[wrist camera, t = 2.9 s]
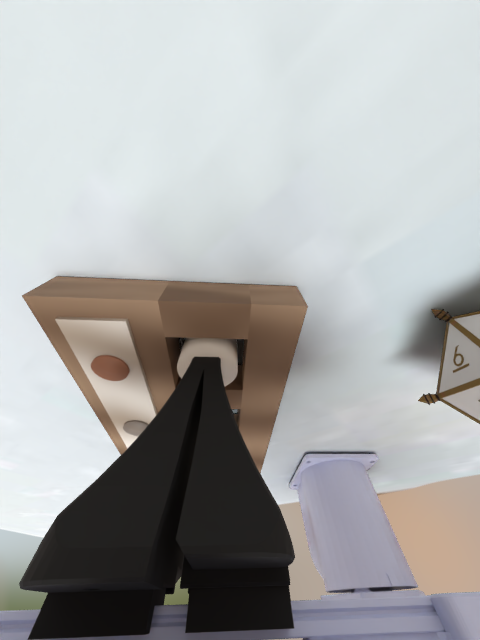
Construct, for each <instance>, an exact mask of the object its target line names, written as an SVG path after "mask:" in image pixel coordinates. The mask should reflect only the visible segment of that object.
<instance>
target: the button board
mask: <svg viewBox="0 0 480 640" xmlns="http://www.w3.org/2000/svg"><path fill="white" fill-rule="evenodd" d="M22 297H23V298H24V300H25V301H26V303H27V305H28V306H29V308H30V309H31V311H32V313H33V314H34V316H35V317H36V319H37V321H38V322H39V324H40V325H41V327H42V329H43V330H44V332H45V333H46V335H47V337H48V338H49V340H50V341H51V343H52V345H53V346H54V348H55V350H56V351H57V353H58V354H59V356H60V358H61V359H62V361H63V362H64V364H65V366H66V367H67V369H68V370H69V372H70V374H71V375H72V377H73V378H74V380H75V382H76V383H77V385H78V386H79V388H80V390H81V391H82V393H83V394H84V396H85V398H86V399H87V401H88V402H89V404H90V406H91V407H92V409H93V411H94V412H95V414H96V415H97V417H98V419H99V420H100V422H101V423H102V425H103V427H104V428H105V430H106V431H107V433H108V435H109V436H110V438H111V439H112V441H113V443H114V444H115V446H116V447H117V449H118V451H119V452H120V454H121V455H122V454H123V453H124V452H125V451H126V450H127V449H128V447H129V446H130V445H131V444H132V443H133V442H134V441H135V440H136V439H137V437H138V436H139V435H140V434H141V433H142V432H143V431H144V430H145V428H146V427H147V426H148V425H149V424H150V422H151V421H152V420H153V419H154V417H155V416H156V415H157V414H158V412H159V411H160V410H161V408H162V407H163V406H164V404H165V403H166V401H167V400H168V399H169V397H170V396H171V394H172V393H173V391H174V390H175V388H176V387H177V385H178V384H179V382H180V381H181V377H180V376H179V374H178V371H177V363H178V360H179V357H180V354H181V351H180V344H179V338H178V337H182V338H217V339H244V345H243V357H242V365H238V373H237V376H236V378H235V379H234V380H233V381H232V382H231V383H230V384H229V385H227V386H225V390H226V394H227V397H228V401H229V404H230V407H231V409H238V414H233V415H234V418H235V421H236V423H237V426H238V428H239V431H240V433H241V435H242V437H243V440H244V442H245V444H246V446H247V448H248V450H249V452H250V455H251V457H252V459H253V461H254V463H255V465H256V467H257V469H258V471H259V472H260V473H261V469H262V465H263V462H264V458H265V455H266V451H267V448H268V444H269V441H270V437H271V434H272V430H273V427H274V423H275V420H276V416H277V413H278V409H279V406H280V402H281V399H282V395H283V392H284V388H285V385H286V381H287V378H288V374H289V371H290V367H291V363H292V360H293V356H294V353H295V349H296V346H297V342H298V339H299V335H300V332H301V328H302V325H303V321H304V318H305V314H306V311H307V307H308V306H307V304H306V302H305V300H304V299H303V297H302V295H301V293H300V292H299V290H298V288H297V286H275V285H251V284H227V283H203V282H179V281H154V280H130V279H106V278H82V277H58V276H56V277H55V278H53V279H51V280H49V281H47V282H46V283H44V284H42V285H40V286H39V287H37V288H35V289H33V290H31V291H30V292H28V293H26V294H24V295H22Z"/></svg>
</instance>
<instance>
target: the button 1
mask: <svg viewBox="0 0 480 640" xmlns="http://www.w3.org/2000/svg"><path fill="white" fill-rule="evenodd" d="M194 357H219V358H220V359H221V372H222V378H223V382H224V386H227V385H229V384H230V383H231V382H232V381H233V380H234V379H235V378H236V376H237V373H238V355H237V340H236V339H217V338H185V341H184V344H183V347H182V350H181V354H180V357H179V360H178V363H177V371H178V374H179V376H180V377H181V379H182V377H183V376H184V374H185V372H186V370H187V369H188V367H189V365H190V363H191V361H192V359H193V358H194Z"/></svg>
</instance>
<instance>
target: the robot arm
mask: <svg viewBox="0 0 480 640" xmlns="http://www.w3.org/2000/svg"><path fill="white" fill-rule="evenodd" d="M378 460H379V458H378V456H377V455H376V454H307V455H305V456H304V458H303V460H302V462H301V464H300V466H299V467H298V469H297V471H296V473H295V475H294V477H293V479H292V481H291V482H290V484H289V487H290V489H297V491H298V496H299V501H300V505H301V511H302V516H303V521H304V526H305V531H306V536H307V541H308V546H309V550H310V554H311V557H312V560H313V562H314V565H315V567H316V569H317V570H318V572H319V574H320V575H321V576H322V578H323V579H324V583H325V588H326V591H327V592H330V593H332V592H334V593H346V594H335V595H325V596H324V595H323V596H321V600H300V601H291V600H290V592H289V585H290V578H289V570H288V565H290V564H291V563H292V562H293V560H294V558H295V555H294V550H293V545H292V542H291V538H290V535H289V532H288V529H287V526H286V524H285V521H284V518H283V516H282V513H281V511H280V508H279V506H278V505H277V503H276V501H275V500H274V498H273V496H272V494H271V493H270V491H269V489H268V487H267V485H266V484H265V482H264V480H263V478H262V476H261V474H260V472H259V471H258V469H257V467H256V465H255V463H254V461H253V459H252V457H251V455H250V452H249V450H248V448H247V446H246V444H245V442H244V440H243V437H242V435H241V433H240V431H239V428H238V426H237V423H236V421H235V418H234V415H233V413H232V410H231V407H230V404H229V401H228V397H227V394H226V390H225V386H224V382H223V378H222V372H221V359H220V358H219V357H194V358H193V359H192V361H191V363H190V365H189V367H188V369H187V370H186V372H185V374H184V376H183V377H182V379H181V381H180V382H179V384H178V385H177V387H176V388H175V390H174V391H173V393H172V394H171V396H170V397H169V399H168V400H167V401H166V403H165V404H164V406H163V407H162V408H161V410H160V411H159V412H158V414H157V415H156V416H155V417H154V419H153V420H152V421H151V422H150V424H149V425H148V426H147V427H146V428H145V430H144V431H143V432H142V433H141V434H140V435H139V436H138V437H137V439H136V440H135V441H134V442H133V443H132V444H131V445H130V446H129V447H128V449H127V450H126V451H125V452H124V453H123V454H122V455H121V456H120V457H119V458H118V459H117V460H116V461H115V462H114V463H113V464H112V465H111V466H110V467H109V468H108V469H107V470H106V471H105V472H104V473H103V474H102V475H101V476H100V477H99V478H98V479H97V480H96V481H95V482H94V483H93V484H91V485H90V486H89V487H88V488H87V489H86V490H85V491H84V492H83V493H82V494H81V495H79V496H78V497H77V498H76V499H75V500H74V501H73V502H72V503H71V504H70V505H68V506H67V507H66V508H65V509H64V510H63V511H62V512H61V513H60V514H59V515H58V516H57V518H56V519H55V521H54V522H53V524H52V526H51V527H50V529H49V530H48V532H47V533H46V535H45V537H44V538H43V540H42V542H41V544H40V545H39V547H38V550H37V551H36V553H35V555H34V557H33V559H32V561H31V562H30V564H29V566H28V568H27V570H26V572H25V574H24V576H23V578H22V579H21V581H20V583H19V584H20V588H21V589H24V590H32V591H39V592H47V593H48V595H47V597H46V599H45V601H44V604H43V606H42V608H41V610H16V611H0V640H264V639H265V640H266V639H285V638H286V639H288V638H303V640H480V592H465V593H442V594H431V595H430V596H425V594H424V592H422V591H420V590H407V591H392V590H401V589H411V588H417V587H418V585H417V583H416V581H415V579H414V576H413V574H412V572H411V570H410V567H409V565H408V563H407V561H406V559H405V556H404V554H403V552H402V550H401V547H400V545H399V543H398V541H397V538H396V536H395V534H394V532H393V529H392V527H391V525H390V523H389V521H388V518H387V516H386V514H385V512H384V510H383V507H382V505H381V503H380V500H379V498H378V496H377V494H376V491H375V489H374V487H373V485H372V483H371V480H370V478H369V476H368V474H367V470H368V469H370V468H371V467H372V466H373V465H374V464H375V463H376V462H377V461H378ZM180 577H181V584H180V588H181V589H183V588H188V593H189V602H188V605H187V604H186V605H164V599H165V594H173V593H174V589H175V584H176V582H177V581H178V579H179V578H180Z"/></svg>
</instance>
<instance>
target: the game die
mask: <svg viewBox="0 0 480 640" xmlns="http://www.w3.org/2000/svg"><path fill="white" fill-rule="evenodd" d="M431 310H432V311H433V313H434V315H435V318H436V317H437V318H439V320H445V321H446V322H447V323H446V330H445V337H444V344H443V351H442V358H441V365H440V371H439V378H438V385H437V392H436V394H430V393H428V394H427V395H424V394H423V396H422V397H421V398H420V399H419V400H418V401H420V402H424V403H427V404H429V405H430V403H434V404H435V402H436V401H442V402H444V403H445V404H447V405H449V406H450V407H452V408H454V409H455V410H457V411H459V412H460V413H462V414H464V415H465V416H467V417H469V418H470V419H472V420H474V421H475V422H477V423H479V424H480V311H478V312H473V313H468V314H464V315H459V316H454V317H452V316H450V315H449V314H448V313H449V312H445V311H443V310H444V309H443V310H434V309H431Z"/></svg>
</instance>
